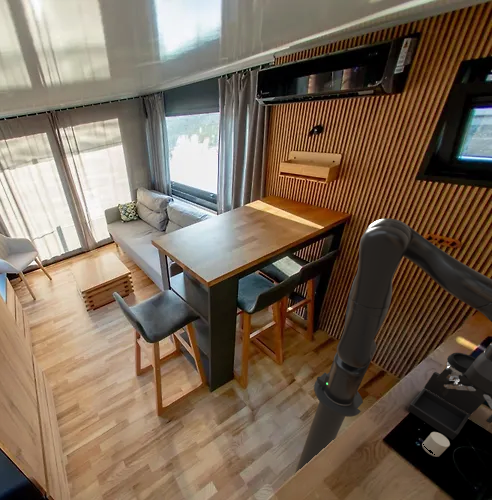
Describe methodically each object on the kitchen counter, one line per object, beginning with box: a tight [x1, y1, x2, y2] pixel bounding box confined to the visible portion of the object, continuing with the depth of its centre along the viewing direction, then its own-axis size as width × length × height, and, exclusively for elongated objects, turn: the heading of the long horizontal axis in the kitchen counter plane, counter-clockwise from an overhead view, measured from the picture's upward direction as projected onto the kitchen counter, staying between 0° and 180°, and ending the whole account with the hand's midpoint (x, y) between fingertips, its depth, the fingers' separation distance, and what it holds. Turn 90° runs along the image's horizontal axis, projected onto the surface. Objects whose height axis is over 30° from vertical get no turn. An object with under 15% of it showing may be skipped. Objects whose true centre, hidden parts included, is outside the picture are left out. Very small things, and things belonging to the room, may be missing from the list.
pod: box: [421, 431, 451, 458], centre depth 80 cm, size 4×4×7 cm
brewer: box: [406, 387, 471, 441], centre depth 88 cm, size 10×11×4 cm
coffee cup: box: [442, 352, 477, 380], centre depth 92 cm, size 8×8×15 cm
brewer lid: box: [423, 371, 485, 416], centre depth 86 cm, size 11×11×5 cm
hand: (465, 406), depth 71 cm, fingers open, 8 cm apart
